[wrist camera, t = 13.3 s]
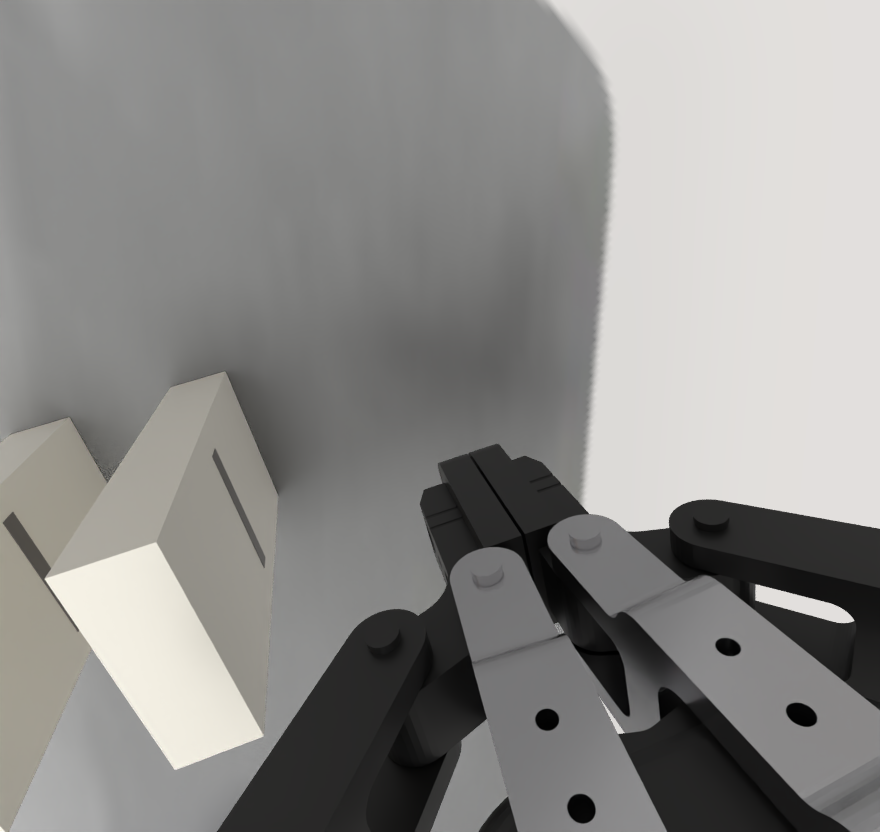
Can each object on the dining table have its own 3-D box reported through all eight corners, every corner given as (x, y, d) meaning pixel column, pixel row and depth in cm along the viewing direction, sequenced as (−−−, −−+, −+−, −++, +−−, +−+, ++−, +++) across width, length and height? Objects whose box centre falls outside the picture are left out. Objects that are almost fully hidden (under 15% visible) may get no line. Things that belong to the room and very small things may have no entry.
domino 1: (140, 540, 20) (8, 833, 11) (87, 558, 19) (-94, 872, 10) (69, 416, 18) (-168, 648, 9) (10, 434, 17) (-300, 693, 8)
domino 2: (278, 495, 20) (265, 735, 11) (228, 512, 20) (174, 770, 11) (226, 371, 18) (157, 542, 9) (169, 387, 18) (43, 579, 9)
